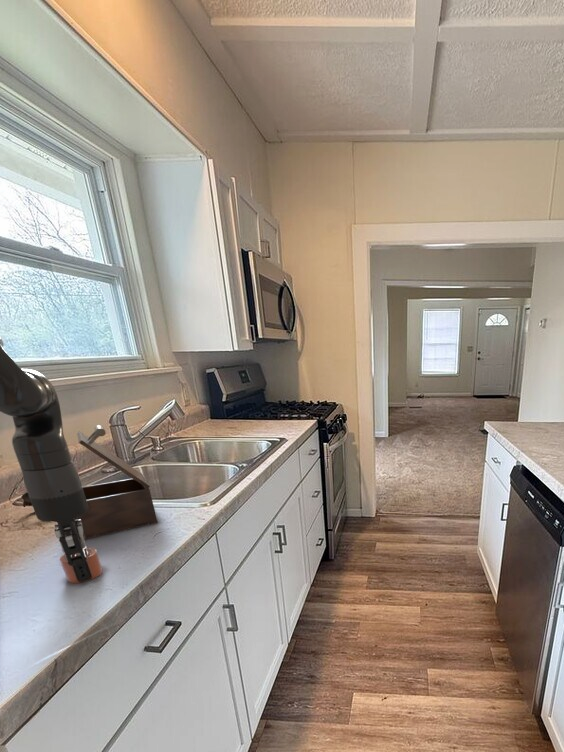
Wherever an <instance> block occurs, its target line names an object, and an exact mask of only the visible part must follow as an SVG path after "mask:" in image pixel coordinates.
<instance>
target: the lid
mask: <svg viewBox="0 0 564 752" xmlns="http://www.w3.org/2000/svg"><path fill="white" fill-rule="evenodd" d="M93 430H94V431H93V432H92V433H91V434H90V435H89V436H87V435H86V434H84V432H82V431H80V430H79V431H78V432H77V433H76V437H77V441H78V443H79V444H80V445H81V446H83V447H84V448H86V449H87V450H89V451H90V452H92V453H93V454H95V455H96V456H98V457H100V458H101V459H103V460H104V461H106V462H107V463H109V464H110V465H112V466H113V467H115V468H116V469H117V470H119V471H120V472H122V473H123V474H125V475H127V476H128V477H130V479H132V478H133V479H134V480H136V481H137V482H139V483H140V484H142V485H143V486H145V487H146V488H149V489H150V487H151V485H150V484H149V482H148V481H147V479H146V477H145V476H144V474H143V473H142V472H140V471H139V470H137V469H136V468H134V467H133V466H131V465H130V464H128V463H127V462H125V461H124V460H123V459H121V458H120V457H118V456H117V455H115V454H114V453H113V452H111V451H109V450H108V449H107V448H105V447H103V446H102V445H101V444H100V443H97V442H96V440H97V439H98V438H99V437H104V436H106V430H105V428H104V427H103V426H102V425H101V424H97V425H95V426H94V429H93Z"/></svg>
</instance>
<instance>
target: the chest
mask: <svg viewBox="0 0 564 752" xmlns="http://www.w3.org/2000/svg"><path fill="white" fill-rule="evenodd" d="M82 487H83V490H84V493H85V497H86V500H87V503H88V506H89V509H88V511H87V512H86V513H84V514H82V515H80V516H77V520H79V519H81V521H82V525H83V530H84V535H85V539H84V540H88V539H91V538H96V537H100V536H105V535H109V534H113V533H117V532H122V531H127V530H131V529H135V528H140V527H144V526H148V525H153V524H157V523H158V522H159V521H158V518H157V517H158V516H157V513H156V510H155V506H154V502H153V498H152V493H151V490H150V487H149V488H146V487H145V486H143V485H142V484H140V483H139V482H137V481H136V480H134V479H133V478H126V479H120V480H114V481H109V482H101V483H97V484H89V485H84V486H82Z"/></svg>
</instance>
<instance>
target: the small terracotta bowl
mask: <svg viewBox="0 0 564 752" xmlns="http://www.w3.org/2000/svg"><path fill="white" fill-rule="evenodd" d="M84 551H85V555H86V556H87V558H88V559H87V563H88V566H89V569H90V572H91V575H92V578H91V579H89V580H86V581H82V582H81V583H84V582H88V581H91V580H93V579H95V578H97V577H99V576H100V575H101V574H103V567H102V564H101V561H100V558H99V555H98V551H97V549H96V548H93V547H86V548H85V549H84ZM78 556H81V554H80V553H76V554H72V558H74V557H78ZM59 561H60V565H61V567H62V569H63V572H64V575H65V578H66V580H67V582H68V583H72V584H79V583H80V582H79V581H78V580H77V578H76V575H75V572H74V569H73V567H72V566H70V565H69V564H68V560H67V557H66V555H65V553H64V554H62V556H60V557H59Z"/></svg>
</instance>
